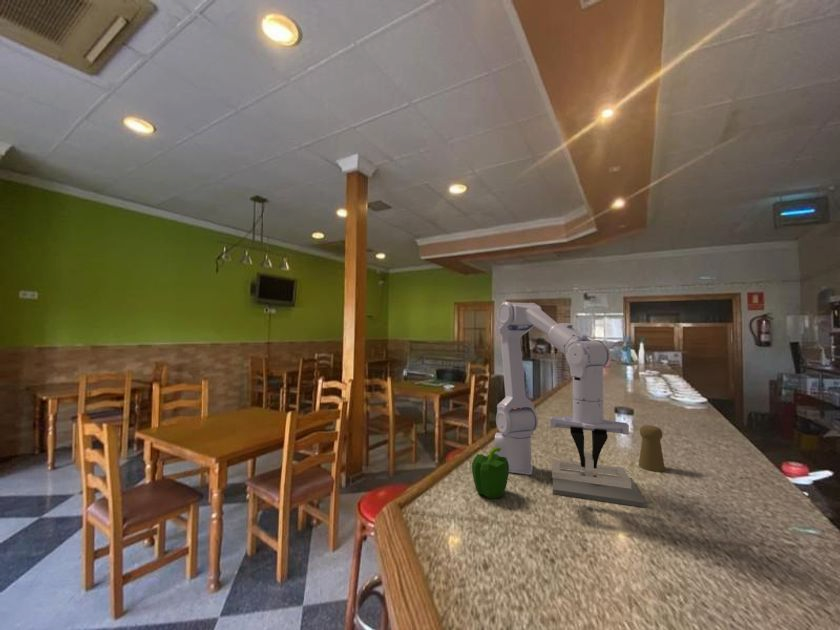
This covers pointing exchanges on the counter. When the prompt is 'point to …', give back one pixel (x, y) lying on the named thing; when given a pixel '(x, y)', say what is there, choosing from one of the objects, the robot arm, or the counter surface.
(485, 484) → the bell pepper
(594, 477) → the double window frame
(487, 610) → the counter surface
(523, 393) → the robot arm
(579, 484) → the plate
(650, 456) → the cork
